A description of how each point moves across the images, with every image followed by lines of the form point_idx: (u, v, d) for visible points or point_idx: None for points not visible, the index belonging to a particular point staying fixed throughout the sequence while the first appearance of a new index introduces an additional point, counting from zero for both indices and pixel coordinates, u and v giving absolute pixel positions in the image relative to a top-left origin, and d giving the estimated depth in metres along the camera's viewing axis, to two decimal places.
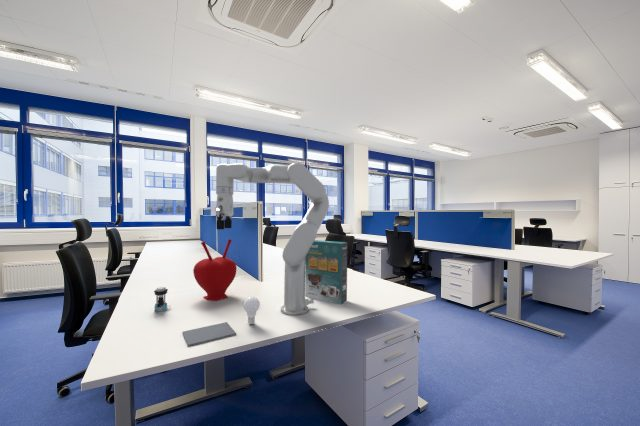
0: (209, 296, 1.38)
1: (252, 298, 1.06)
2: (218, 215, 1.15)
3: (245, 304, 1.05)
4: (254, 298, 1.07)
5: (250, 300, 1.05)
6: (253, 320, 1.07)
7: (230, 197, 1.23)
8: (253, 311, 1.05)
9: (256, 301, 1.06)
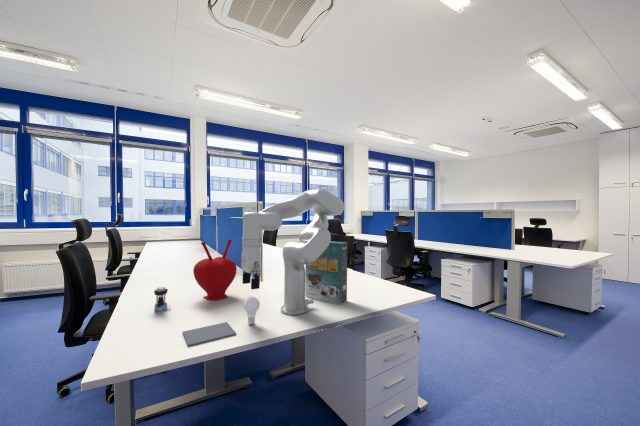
0: (209, 296, 1.38)
1: (252, 298, 1.06)
2: None
3: (245, 304, 1.05)
4: (254, 298, 1.07)
5: (250, 300, 1.05)
6: (253, 320, 1.07)
7: (244, 250, 1.06)
8: (253, 311, 1.05)
9: (256, 301, 1.06)
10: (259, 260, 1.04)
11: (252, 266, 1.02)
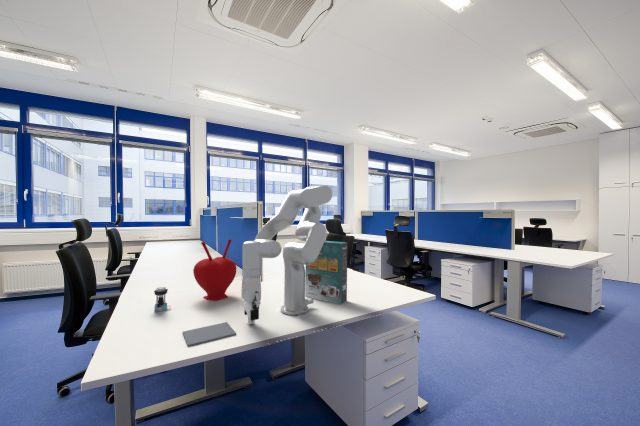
0: (209, 296, 1.38)
1: None
2: None
3: (245, 304, 1.05)
4: None
5: None
6: (253, 320, 1.07)
7: (245, 279, 1.06)
8: None
9: None
10: (259, 290, 1.04)
11: (252, 296, 1.02)
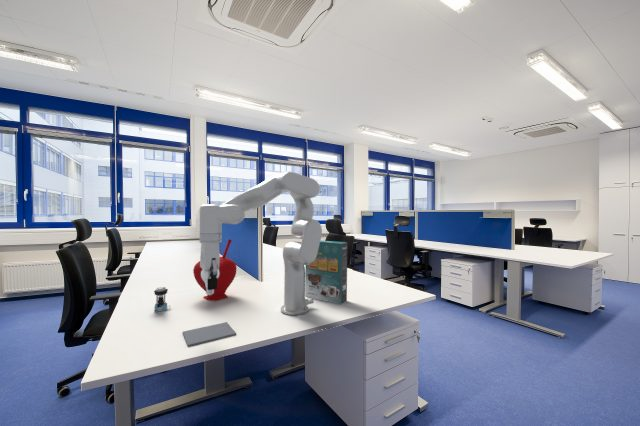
0: (209, 296, 1.38)
1: None
2: None
3: (202, 272, 0.96)
4: None
5: None
6: (212, 290, 0.98)
7: (202, 245, 0.97)
8: None
9: None
10: (217, 257, 0.95)
11: (209, 263, 0.93)
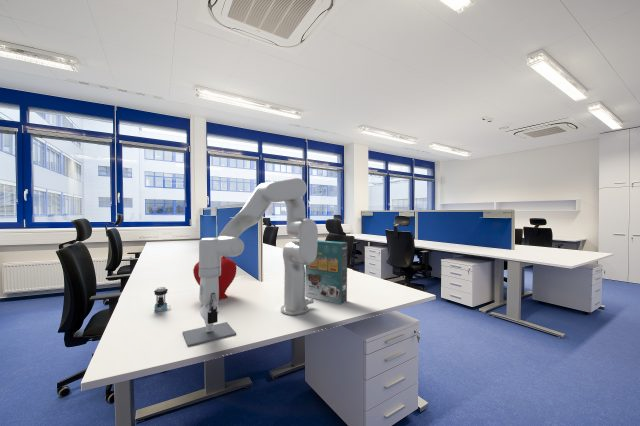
0: None
1: None
2: None
3: (201, 310, 0.96)
4: None
5: (207, 306, 0.96)
6: (211, 327, 0.98)
7: (201, 279, 0.97)
8: None
9: None
10: (216, 292, 0.95)
11: (208, 298, 0.93)
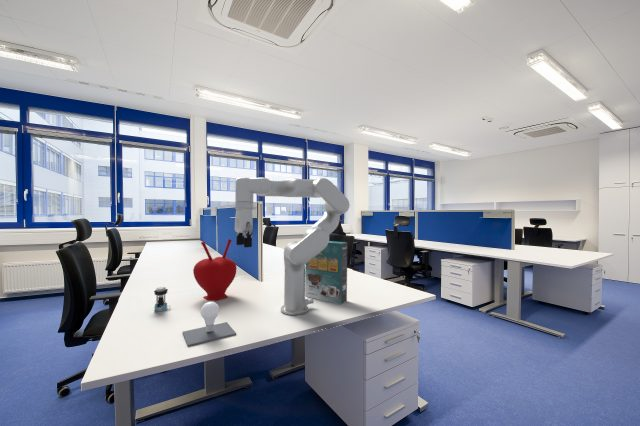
0: (209, 296, 1.38)
1: (210, 303, 0.98)
2: None
3: (202, 310, 0.96)
4: (212, 303, 0.98)
5: (207, 305, 0.97)
6: (211, 327, 0.98)
7: (237, 212, 1.14)
8: (210, 318, 0.97)
9: (214, 307, 0.97)
10: (251, 221, 1.12)
11: (244, 226, 1.11)
